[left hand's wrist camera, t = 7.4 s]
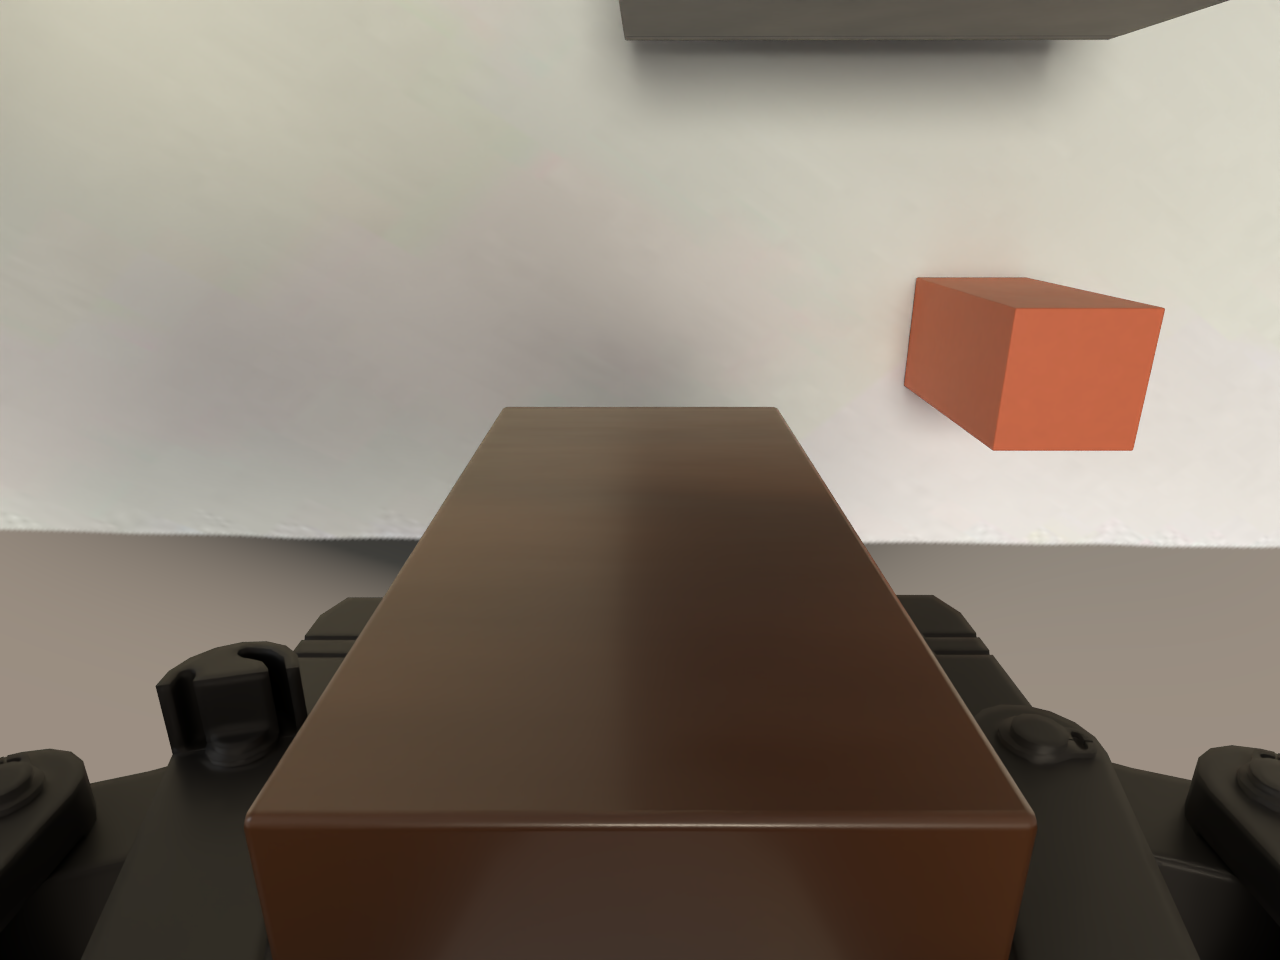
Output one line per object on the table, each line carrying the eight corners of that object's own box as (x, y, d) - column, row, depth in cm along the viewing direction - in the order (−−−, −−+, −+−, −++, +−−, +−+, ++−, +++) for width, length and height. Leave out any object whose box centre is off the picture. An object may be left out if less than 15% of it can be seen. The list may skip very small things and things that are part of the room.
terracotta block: (903, 385, 37) (992, 450, 28) (916, 277, 35) (1015, 308, 26) (1009, 385, 37) (1133, 450, 28) (1027, 277, 35) (1165, 308, 26)
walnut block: (517, 644, 16) (340, 1292, 7) (502, 405, 14) (234, 819, 5) (763, 644, 16) (940, 1292, 7) (777, 406, 14) (1045, 820, 5)
